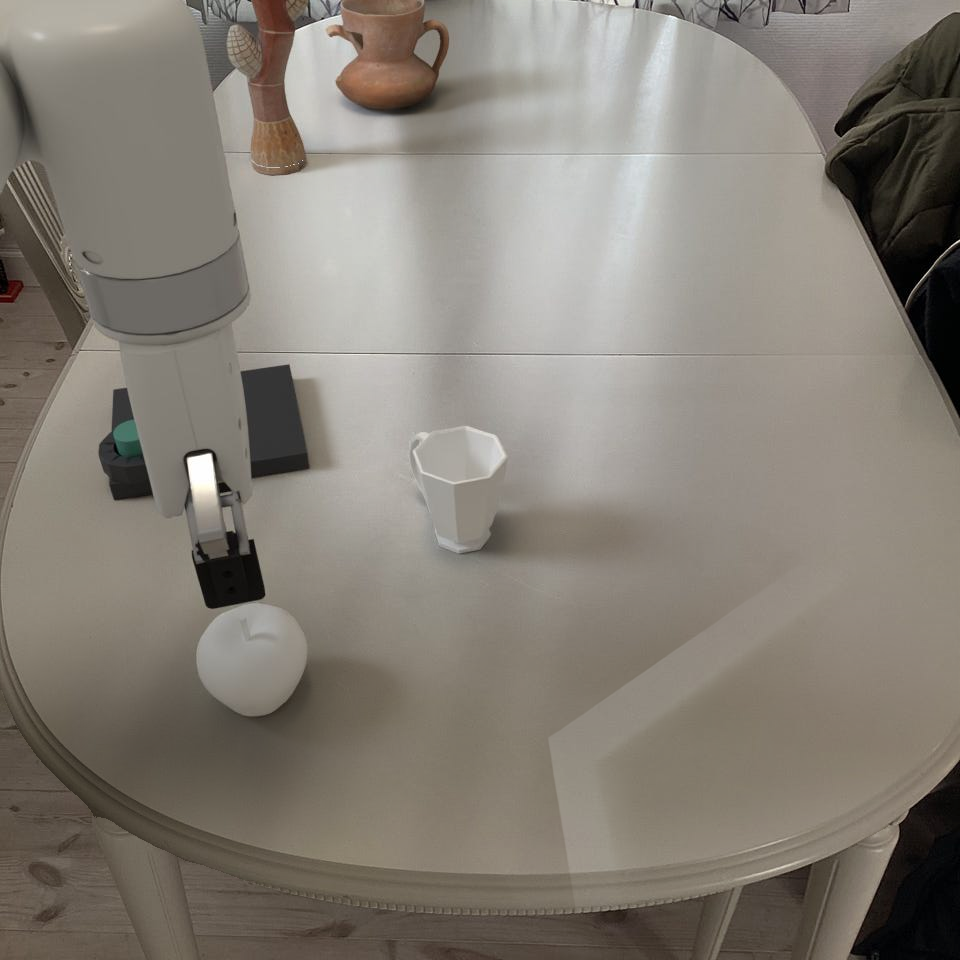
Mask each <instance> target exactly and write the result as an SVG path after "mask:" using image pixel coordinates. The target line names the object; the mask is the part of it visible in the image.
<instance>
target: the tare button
mask: <svg viewBox="0 0 960 960" xmlns="http://www.w3.org/2000/svg"><path fill="white" fill-rule="evenodd" d="M113 436H114V439H115V442H116V446H117V449H118V452H119V454H120V455H122V456H124V457H129V458H131V457H138V456H142V455H143V452H142V448H141V444H140V440H139V436H138V432H137V428H136V424H135V420H130V421H126V422H124V423H122V424H120V425H118V426H117V427H116V428H115V430H114V432H113Z"/></svg>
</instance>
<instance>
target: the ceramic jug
mask: <svg viewBox="0 0 960 960" xmlns="http://www.w3.org/2000/svg"><path fill="white" fill-rule="evenodd" d="M339 6H340V7H339V8H340V9H339V10H340V15H341V19H342V21H343V22H342V25H341V24H338V23H337V24H330V25H329V26H327V27H326V28H325V32H326V34H327V36H328V37H329V38H333V37H340V38H341V39H344V40H346V41H348V42H350V43H351V44H352V46H353V47H354V48H353V49H355V51H356V53H357V56H356V57H355V58H354V59H352V60H351V61H350V62H348V64H346V65H345V67H344V68H343V69H342V70H341V72H340V74H339V75H338V76H337V77H336V79H335V82H334V83H335V85H336V88H337V89H338V90H339V91H340V93H341V94H342V95H343V96H344V97H345V98H346V99H347V100H349V101H350V102H352V103H354V104H355V105H359V106H361V107H364V108H367V109H373V110H396V109H402V108H407V107H410V106H413V105H415V104H418V103H420V102H422V101H423V100H425V99H426V98H428V97H430V95H431V94H432V93H433V92H434V90H435V88H436V84H437V81H438V79H439V75H440V69H441V66H442V65H443V63H444V61H445V58H446V57H447V54H448V51H449V47H450V46H449V45H450V34H449V30H448V27H447V26H446V25H445V24H444V23H443V22H442V21H440V20H437V19H429V20H426V21H424V19H425V12H426V11H425V10H426V0H341V1H340V4H339ZM434 30H435V31H437V33H438V35H439V48H438V51H437V55H436V57H435V60H434V62H433V64H432V66H431V65H430V64H429V63H428V62H427V61H425V60H423V59H422V58H421V57H419V56H418V55H417V54H416V53H415V49H416V46H417V43H418V41H419V40H420V38H422V37H423V36H424V35H425V34H426V33H428V32H430V31H434Z"/></svg>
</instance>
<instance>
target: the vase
mask: <svg viewBox="0 0 960 960" xmlns="http://www.w3.org/2000/svg"><path fill="white" fill-rule="evenodd" d="M250 1H251V5H252V8H253V12H254V15H255V18H256V22H257V26H258V29H257V36H256V37H255V36H254V35H253V34H252V33H250V32H249V31H248V30H247V29H246V28H245V27H243V26H242V25H240V24H237V23H236V24H233V25H231V26H230V27H229V29H228V32H227V38H226V49H227V56H228V59H229V61H230V63H231V65H232V66H233V67H234V68H235V69H236V70H237V71H238V72H239V73H241V74H242V75H244V76H245V77H246V81H247V89H248V93H249V98H250V102H251V107H252V115H253V126H252V127H253V128H252V134H251V140H250V162H251V167H252V168H253V169H254V170H255V171H256V172H257V173H259V174H262V175H263V174H264V175H268V176H280V175H281V176H282V175H288V174H289V175H290V174H293V173H296V172H301V170H302V169H303V168H305V167H306V166H307V164H308V163H307V153H306V149H305V144H304V142H303V139H302V137H301V134H300V131H299V129H298V127H297V125H296V123H295V121H294V119H293V117H292V115H291V113H290V109H289V106H288V105H289V104H288V100H287V94H286V86H285V85H286V83H285V79H286V72H287V67H288V62H289V59H290V55H291V51H292V48H293V45H294V40H295V34H296V25H295V21H296V20H297V19H298V18H299V17H300V16H301V15H303V14H304V12H305V11H306V9H307V8H308V6H309V0H250ZM251 159H252V160H253V161H254V162H255V163H256V164H257V165H262V166H265V167H261V166H257V165H256V164H255V163H253V162H252V161H251ZM302 160H303V161H302ZM298 163H299V164H298ZM293 164H295V165H293ZM290 165H291V166H290ZM285 166H288V167H285ZM266 167H280V168H266Z"/></svg>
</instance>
